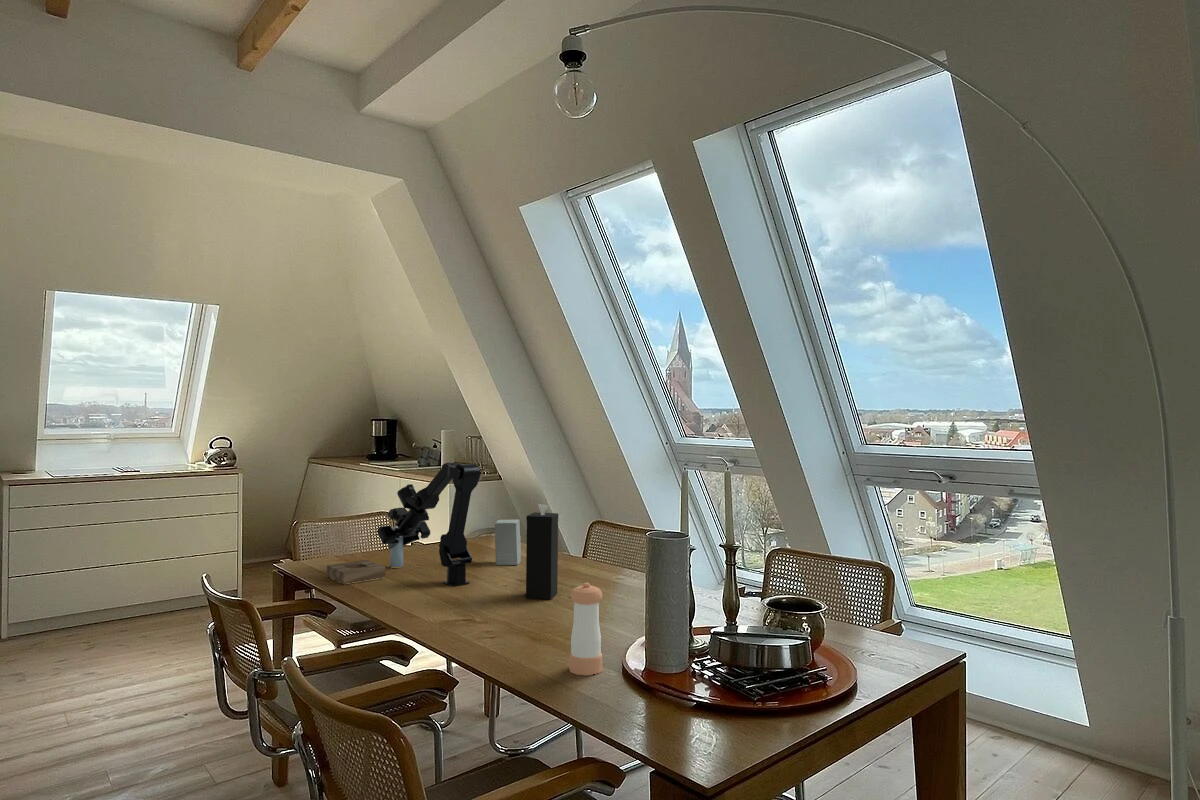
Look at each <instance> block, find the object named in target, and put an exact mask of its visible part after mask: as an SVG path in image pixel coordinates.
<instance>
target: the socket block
mask: <svg viewBox="0 0 1200 800" xmlns="http://www.w3.org/2000/svg"><path fill="white" fill-rule="evenodd" d="M327 577H329V578H331V579H334V580H336V581H338V582H340V583H343V584H346V583H352V582H358V581H364V580H370V579H376V578H383V577H385V578H386V566H384V565H382V564H378V563H376V562H373V561H371V560H368V559H364V560H357V561H349V562H342V563H336V564H335V563H334V564H327V565H326V578H327ZM329 578H328V579H329ZM331 579H330V580H331ZM334 580H333V581H334ZM336 581H335V582H336ZM338 582H337V583H338ZM340 583H339V584H340Z"/></svg>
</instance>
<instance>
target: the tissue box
mask: <svg viewBox="0 0 1200 800" xmlns="http://www.w3.org/2000/svg"><path fill="white" fill-rule="evenodd" d="M537 504H538V509H539V512H533V513H530V514H527V515H526V549H525V550H526V551H525V552H526V558H525V560H526V563H525V564H526V566H525V568H526V570H525V598H528V599H539V600H552V599H553V598H554V597H556V595H557V594H558V571H559V569H558V565H559V564H558V563H559V561H558V560H559V559H558V557H559V556H558V554H559V553H558V552H559V513H558V512H556V513H555V512H546V511H547V509H548V507H549V505H547V504H543V503H542V504H541V503H537Z"/></svg>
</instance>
